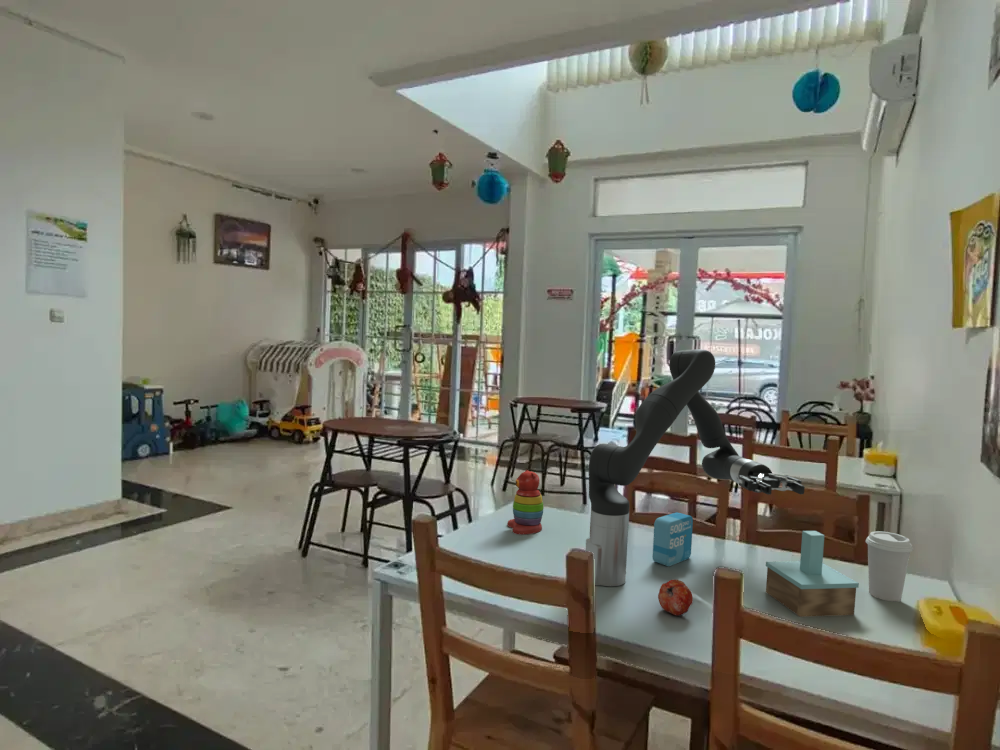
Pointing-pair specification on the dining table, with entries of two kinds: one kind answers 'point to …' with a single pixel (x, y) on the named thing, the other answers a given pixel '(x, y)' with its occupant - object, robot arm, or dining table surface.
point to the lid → (811, 567)
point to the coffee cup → (887, 564)
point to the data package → (672, 538)
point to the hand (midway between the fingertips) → (786, 490)
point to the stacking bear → (527, 505)
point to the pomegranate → (675, 597)
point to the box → (810, 598)
